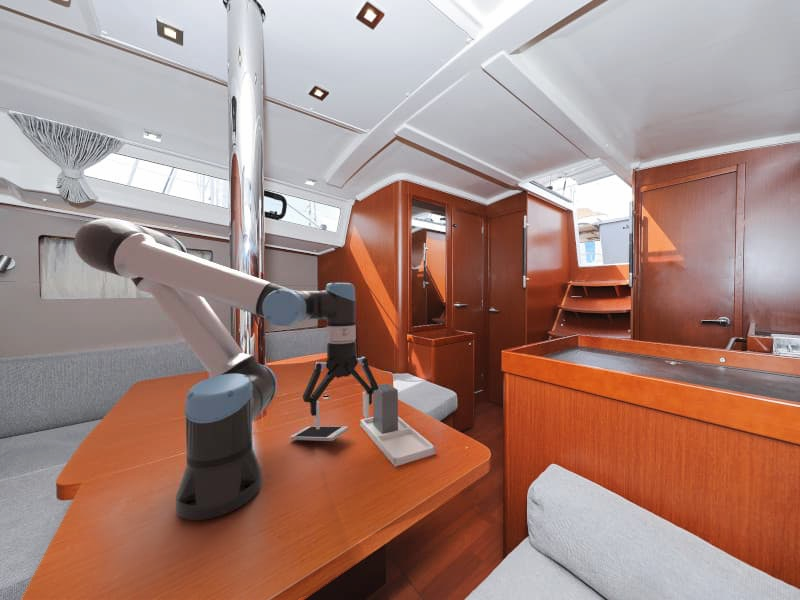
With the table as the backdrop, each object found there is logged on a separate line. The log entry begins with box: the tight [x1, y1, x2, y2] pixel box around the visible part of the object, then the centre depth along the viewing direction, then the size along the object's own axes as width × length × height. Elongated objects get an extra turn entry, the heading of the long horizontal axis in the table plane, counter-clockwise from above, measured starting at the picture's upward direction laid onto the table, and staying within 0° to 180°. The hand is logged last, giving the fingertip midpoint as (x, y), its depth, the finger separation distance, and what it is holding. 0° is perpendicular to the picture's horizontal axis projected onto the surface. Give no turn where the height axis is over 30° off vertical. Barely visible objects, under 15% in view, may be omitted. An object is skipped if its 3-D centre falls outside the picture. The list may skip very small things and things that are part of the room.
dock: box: [359, 383, 436, 468], centre depth 80 cm, size 11×24×13 cm, turn 27°
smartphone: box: [289, 425, 349, 442], centre depth 79 cm, size 7×16×1 cm, turn 64°
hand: (342, 421), depth 75 cm, fingers open, 12 cm apart
